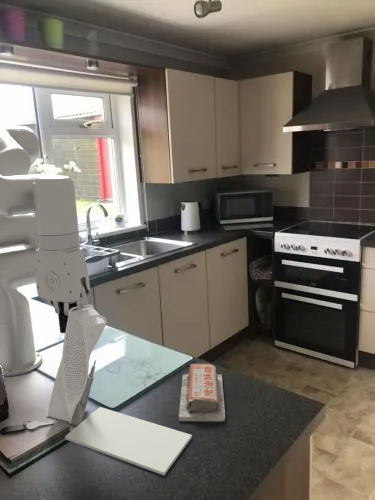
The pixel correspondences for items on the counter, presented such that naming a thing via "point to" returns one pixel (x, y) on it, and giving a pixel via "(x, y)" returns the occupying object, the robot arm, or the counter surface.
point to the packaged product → (202, 394)
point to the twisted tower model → (76, 365)
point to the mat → (130, 439)
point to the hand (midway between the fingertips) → (68, 330)
